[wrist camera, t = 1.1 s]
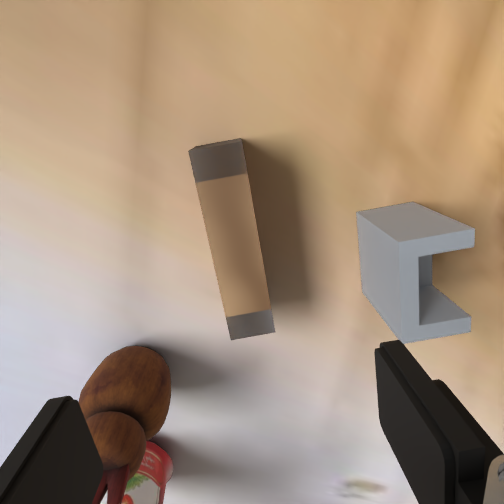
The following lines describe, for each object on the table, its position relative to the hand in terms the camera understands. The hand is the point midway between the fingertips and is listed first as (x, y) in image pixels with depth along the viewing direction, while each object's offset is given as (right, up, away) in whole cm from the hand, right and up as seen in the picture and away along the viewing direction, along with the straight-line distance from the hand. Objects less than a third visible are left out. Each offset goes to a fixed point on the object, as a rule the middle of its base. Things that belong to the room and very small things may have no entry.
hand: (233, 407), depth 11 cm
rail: (-1, +7, +18) cm, 20 cm away
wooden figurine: (-10, -5, +22) cm, 25 cm away
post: (+12, +5, +20) cm, 24 cm away
